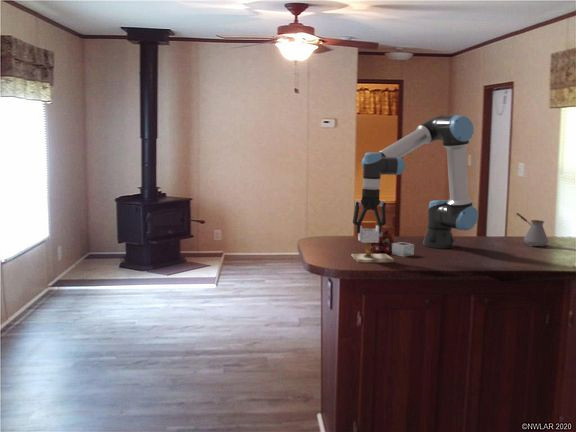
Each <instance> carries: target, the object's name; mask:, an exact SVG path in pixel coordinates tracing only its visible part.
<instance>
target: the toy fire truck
mask: <svg viewBox="0 0 576 432" xmlns="http://www.w3.org/2000/svg"><path fill="white" fill-rule="evenodd" d="M393 243H395V241H394V239H393V236H392V234H391V233H389V230H388V229H384V230H382V229H381V233H379V243H371V252H373V253H374V254H380V253H381V251H383V252H384V254H389V253H392V244H393Z"/></svg>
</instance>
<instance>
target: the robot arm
mask: <svg viewBox="0 0 576 432" xmlns="http://www.w3.org/2000/svg"><path fill="white" fill-rule="evenodd" d="M474 129H475V128H474V124H473V122H472V120H471V119H470V118H469V117H467V116H465V115H460V114H452V115H450V114H448V115H443V114H442V115H438V116H435V117H432V118H430V119H429V120H426V121H425V122H423V123H422V124H420V125H418V126H417V127H416V129H415V130H414V131H412V132H410V133H409V134H407V135H405V136H403V137H402V138H400V139H398V140H397V141H395V142H393V143H392V144H390V145H389V146H387V147H385V148H383V149H381V150H380V151H378V152H365V154H364V157H363V158H362V160H361V168H362V169H363V171H362V172H363V173H362V191H361V199H360V200H359V201H354V212H353V218H352V224H353V225H356V231H355V232H356V233H357V234H358V235H357V236H358V237H357V238H358V239H357V240H358V241H359V242H361V239H362V229H363V226H362V225H361V224H362V223H363V221H364V218H365V216H366V214H367V212H368V210H369V211H370V210H371V211H373V214H374V217H375V220H376V223H377V225H375V229H376V230H378V231H379V233H381V230H382V227H383V226H385V225H386V224H387V221H386V220H387V218H386V206H387V202H385V201H381V200H380V194H381V193H380V192H381V190H380V188H381V177H382V175H386V176H387V175H390V176H391V175H394V176H397V175H401V174H403V173H404V172H405V168H406V167H405V166H406V163H405V161H404V158H403V157H404V156H406V155H408V154H409V153H411V152H413V151H414V150H416V149H418V148H419V147H421V146H423V145H428V144H430V143H432V142H435V141H442V146H443V147H444V148H445V149H446V158H447V160H446V161H447V175H448V189H449V190H448V191H449V199H442V200H441V199H439V200H437V199H435V200H430V201H429V204H428V208H427V209H428V213H427V215H428V216H427V230H426V233H425V235H424V238H423V241H422V242H423V243H422V246H425V247H428V248H433V249H453V248H454V247H455V240H454V236H453V232H452V229H456V230H458V231H470V230H471V229H473V228H475V225H476V224H477V222H478V220H479V211H478V209H477V208H476V207H475V206H474V205H473V200H472V199H471V198H470V197H469V180H468V166H467V165H468V163H467V146H468V145H470V140H471V139H472V137H473V134H474V131H475V130H474ZM361 205H362V206H363V207H362V208H361V211H360V206H361ZM378 206H380V214H379V210H378ZM359 212H360V214H359Z"/></svg>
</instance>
